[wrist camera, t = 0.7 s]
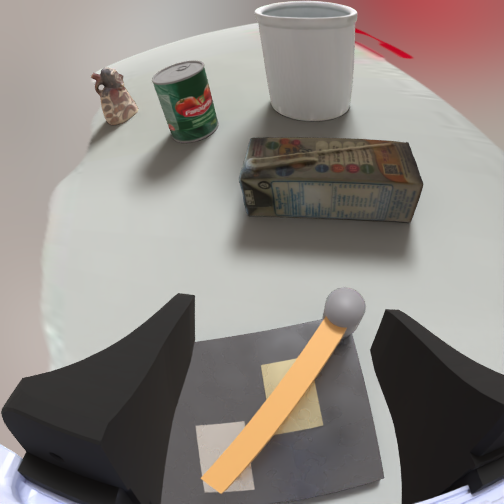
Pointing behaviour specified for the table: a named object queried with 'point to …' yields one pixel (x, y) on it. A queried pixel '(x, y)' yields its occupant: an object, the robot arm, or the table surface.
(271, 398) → the swing arm
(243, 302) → the table surface
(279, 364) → the panel
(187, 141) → the canned tomato
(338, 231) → the table surface
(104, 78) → the figurine
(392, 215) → the beverage carton
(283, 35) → the utensil holder
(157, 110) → the table surface
